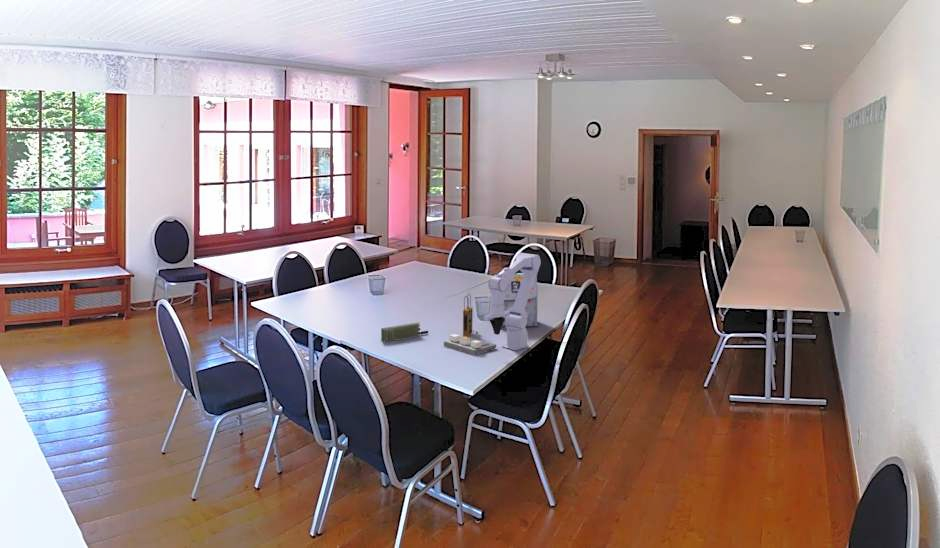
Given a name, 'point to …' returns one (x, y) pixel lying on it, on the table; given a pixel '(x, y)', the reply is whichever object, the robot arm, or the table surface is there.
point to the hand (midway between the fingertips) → (496, 333)
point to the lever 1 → (454, 338)
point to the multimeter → (468, 319)
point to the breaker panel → (467, 348)
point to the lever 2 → (475, 344)
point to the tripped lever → (465, 340)
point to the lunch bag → (532, 301)
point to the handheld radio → (401, 332)
